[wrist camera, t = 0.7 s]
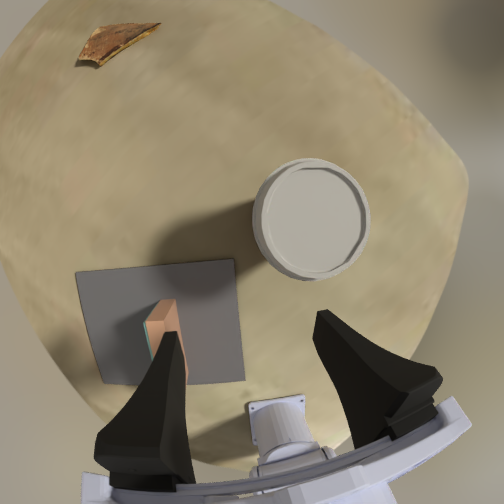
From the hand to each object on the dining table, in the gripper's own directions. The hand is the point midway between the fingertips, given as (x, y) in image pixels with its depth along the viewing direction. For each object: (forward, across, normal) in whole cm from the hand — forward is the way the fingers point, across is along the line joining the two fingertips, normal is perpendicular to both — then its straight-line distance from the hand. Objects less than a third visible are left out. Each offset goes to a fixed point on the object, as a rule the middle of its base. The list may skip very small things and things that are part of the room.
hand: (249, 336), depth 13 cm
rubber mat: (+15, +9, +13) cm, 21 cm away
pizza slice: (+30, +13, -25) cm, 42 cm away
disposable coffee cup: (+18, -7, +1) cm, 20 cm away
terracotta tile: (+14, +7, +14) cm, 21 cm away
